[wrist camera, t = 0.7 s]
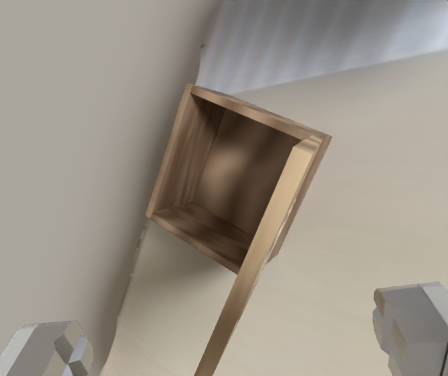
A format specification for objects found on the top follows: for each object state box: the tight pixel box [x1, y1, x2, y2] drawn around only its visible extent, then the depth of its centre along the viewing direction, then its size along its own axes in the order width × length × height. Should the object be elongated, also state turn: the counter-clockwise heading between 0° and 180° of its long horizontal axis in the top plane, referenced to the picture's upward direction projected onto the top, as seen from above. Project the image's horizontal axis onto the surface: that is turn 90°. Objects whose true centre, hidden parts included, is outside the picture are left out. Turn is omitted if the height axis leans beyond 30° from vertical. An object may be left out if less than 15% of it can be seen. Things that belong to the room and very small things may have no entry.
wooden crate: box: [145, 83, 332, 275], centre depth 48 cm, size 18×20×12 cm
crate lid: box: [194, 135, 323, 376], centre depth 31 cm, size 18×20×1 cm
